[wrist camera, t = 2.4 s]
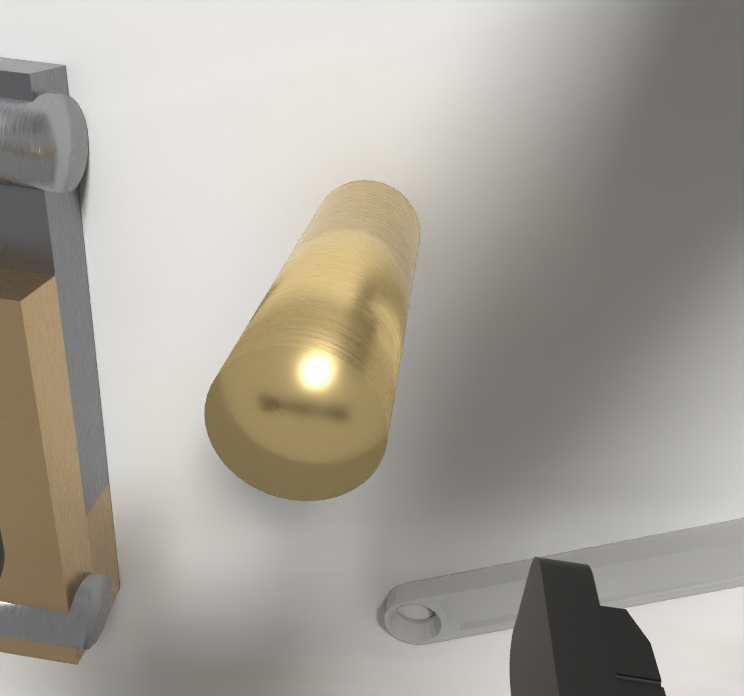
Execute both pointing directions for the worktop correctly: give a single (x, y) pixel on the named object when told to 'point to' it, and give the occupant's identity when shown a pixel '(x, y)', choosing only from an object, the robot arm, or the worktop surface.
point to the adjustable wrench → (611, 575)
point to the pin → (322, 352)
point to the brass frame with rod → (48, 381)
